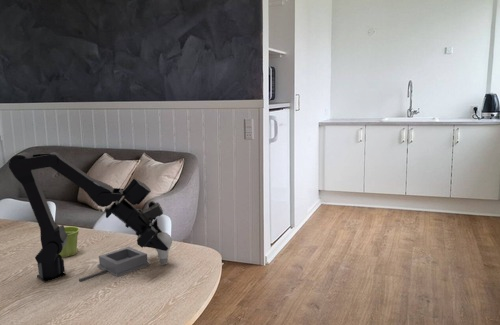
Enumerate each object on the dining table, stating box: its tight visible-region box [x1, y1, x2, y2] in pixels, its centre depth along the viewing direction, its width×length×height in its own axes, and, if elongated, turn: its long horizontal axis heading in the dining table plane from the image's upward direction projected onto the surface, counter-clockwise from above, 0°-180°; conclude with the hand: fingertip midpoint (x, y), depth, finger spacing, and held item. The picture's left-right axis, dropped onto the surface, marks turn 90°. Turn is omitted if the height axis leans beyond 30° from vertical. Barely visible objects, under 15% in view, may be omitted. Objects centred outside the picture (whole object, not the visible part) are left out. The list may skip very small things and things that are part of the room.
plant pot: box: [59, 226, 80, 258], centre depth 153 cm, size 9×9×9 cm
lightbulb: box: [155, 231, 173, 266], centre depth 141 cm, size 6×6×11 cm
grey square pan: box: [78, 246, 151, 283], centre depth 138 cm, size 21×12×4 cm, turn 137°
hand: (166, 245), depth 141 cm, fingers open, 8 cm apart
